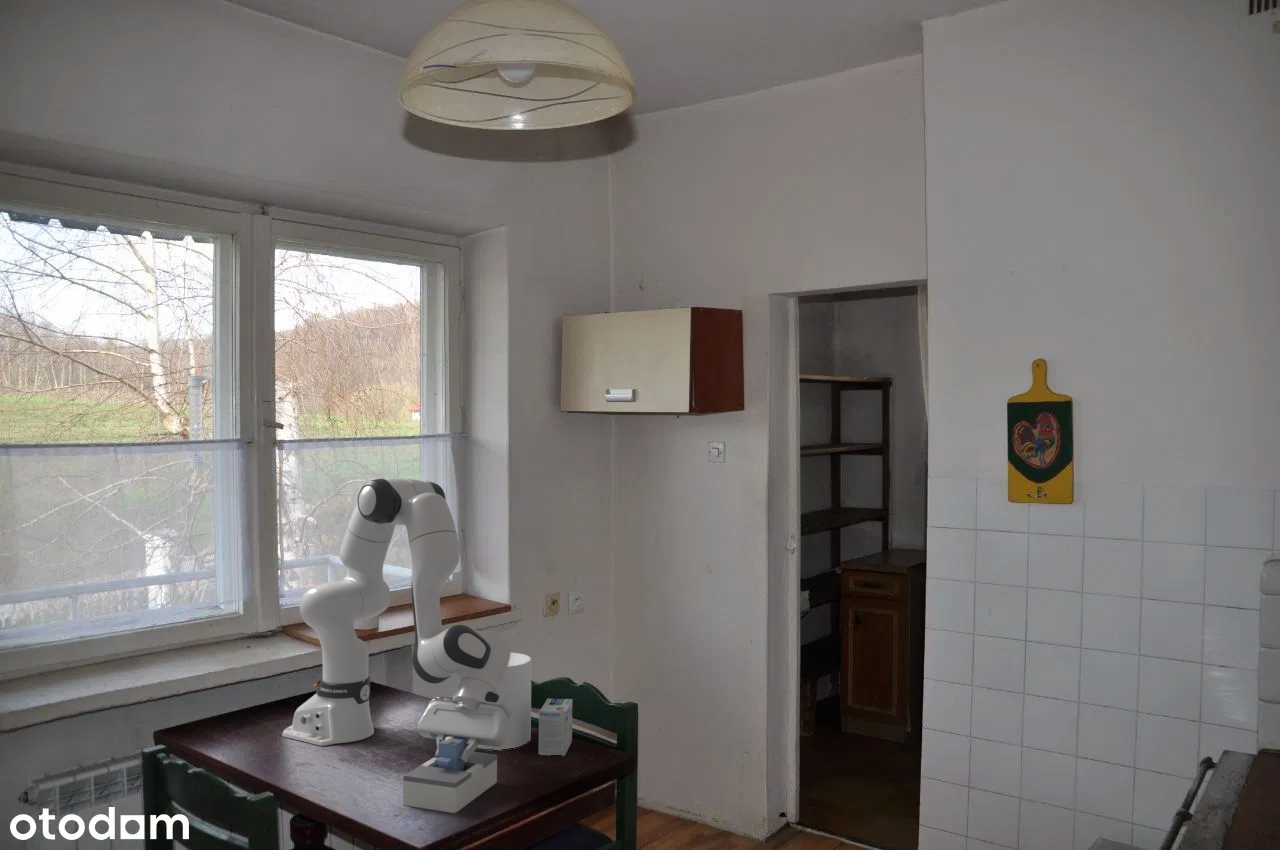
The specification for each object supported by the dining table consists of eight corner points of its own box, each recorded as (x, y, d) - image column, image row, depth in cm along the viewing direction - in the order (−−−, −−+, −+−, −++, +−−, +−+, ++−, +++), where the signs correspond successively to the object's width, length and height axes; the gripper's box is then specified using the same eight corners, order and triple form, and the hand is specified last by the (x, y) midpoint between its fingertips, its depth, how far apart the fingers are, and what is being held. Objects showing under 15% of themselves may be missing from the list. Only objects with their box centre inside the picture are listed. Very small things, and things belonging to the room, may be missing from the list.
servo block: (432, 784, 194) (433, 741, 194) (453, 771, 202) (453, 729, 202) (449, 787, 193) (449, 743, 193) (469, 773, 201) (470, 731, 201)
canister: (493, 726, 244) (494, 649, 244) (543, 736, 236) (544, 657, 236) (452, 743, 230) (453, 661, 230) (503, 754, 222) (504, 670, 222)
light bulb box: (546, 741, 232) (546, 697, 233) (572, 742, 232) (573, 698, 232) (537, 755, 222) (538, 709, 222) (565, 756, 221) (566, 710, 221)
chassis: (403, 805, 191) (403, 775, 191) (448, 775, 208) (448, 748, 208) (455, 813, 187) (455, 783, 187) (496, 782, 204) (497, 754, 204)
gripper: (427, 688, 208) (401, 746, 198) (510, 697, 201) (488, 757, 192) (437, 703, 212) (413, 760, 202) (519, 712, 205) (497, 772, 196)
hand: (450, 759), depth 197 cm, fingers closed on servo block, 4 cm apart
